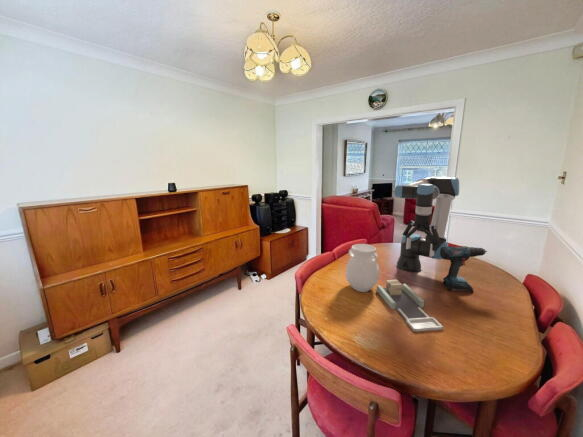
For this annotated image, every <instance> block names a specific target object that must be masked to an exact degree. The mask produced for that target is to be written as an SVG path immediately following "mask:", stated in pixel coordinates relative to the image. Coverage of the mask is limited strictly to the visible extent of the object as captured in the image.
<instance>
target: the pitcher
mask: <svg viewBox="0 0 583 437" xmlns="http://www.w3.org/2000/svg"><path fill="white" fill-rule="evenodd" d="M348 255H349V258H350V259H349V260H348V261H347V264H346V268H345V278H346V281H347V282H348V284H349V285H350V287H352V288H353V290H355V291H357V292H361V293H366V292H369V291H370V290H371V289H373V288H374V286H376V285H377V283H378V281H379V278H380V267H379V264H378V262H377V261H378V260H379V259H380V258H379V255H378V253H377V248H376V247H375V245H372V244H368V243H355V244H353V245H352V246H351V248H350V249H349V250H348ZM374 257H375V258H374Z"/></svg>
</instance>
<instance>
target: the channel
mask: <svg viewBox="0 0 583 437" xmlns="http://www.w3.org/2000/svg"><path fill="white" fill-rule="evenodd" d="M401 284H402V290H404V291H405V292H406V293H407V294H408V295H409V296H410V297H411V298H412V299H413V300H414V301H415V302H416V303H417V304H418V305H419V306H420V307H421V308H424V307H425V300H424V299H423V298H422V297H421V296H420V295H419V294H417V293H416V291H414V289H412V288H411V287H410V286H409V285H407V284H406V283H401ZM383 288H384V287H383V286H381V285H377V284H376V291H377V293H378V294H379V296H380V297H381V298H382V299H383V301H385V303H386V305H387V306H388V307H389V308H390V310H396V309H395V305H396V303H395V302H394V300H393V299H392V298H391V297H390V296H389V295H388V294H387V292H386V291H385V290H384V289H383Z"/></svg>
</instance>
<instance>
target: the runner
mask: <svg viewBox="0 0 583 437" xmlns="http://www.w3.org/2000/svg"><path fill="white" fill-rule="evenodd" d="M382 288H383V289H384V290H385V291H386V287H382ZM386 292H387V291H386ZM387 294H388V295H389V296H390V297H391V298H392V299H393V300H394V302H395V303H396V305H395V309H394V310H395V311H396V312H397V313H398V314H399V315H400V317H401V318H402V319H403V320H404V321H405V322H406V319H411V318H426V317H431V316H430V315H429V314H428V313H427V312H426V310H424V309H423V307H420V306H419V305H418V304H417V303H416V302H415V301H414V300H413V299H412V298H411V297H410V296H409V295H408V294H407V293H406V292H405V291H404V290H402V293H401V295H390V294H389V293H388V292H387Z"/></svg>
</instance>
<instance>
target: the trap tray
mask: <svg viewBox="0 0 583 437" xmlns="http://www.w3.org/2000/svg"><path fill="white" fill-rule="evenodd" d="M405 322H406V324H407V325H408V326H409V328H410V329H411V330H412V331H413V332H414V333H417V332H420V333H421V332H431V331H433V332H434V331H443V330H444V326H443V325H442V324H441V323H440V322H439V321H438V320H437V319H436V318H435V317H433V316H430V317H426V318H411V319H406V321H405Z"/></svg>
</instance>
